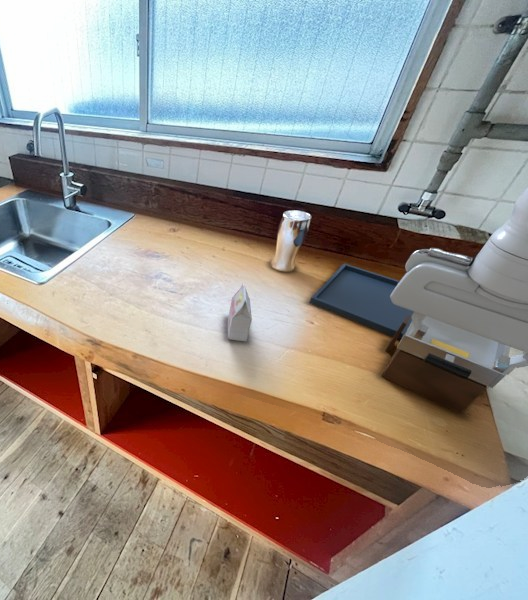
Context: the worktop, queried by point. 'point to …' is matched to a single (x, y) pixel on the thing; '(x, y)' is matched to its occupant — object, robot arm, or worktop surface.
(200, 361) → the worktop surface
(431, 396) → the stand
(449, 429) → the worktop surface
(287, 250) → the silver metal vase
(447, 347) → the yellow block
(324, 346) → the worktop surface
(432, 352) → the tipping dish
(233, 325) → the grey boxy piece
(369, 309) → the tray
